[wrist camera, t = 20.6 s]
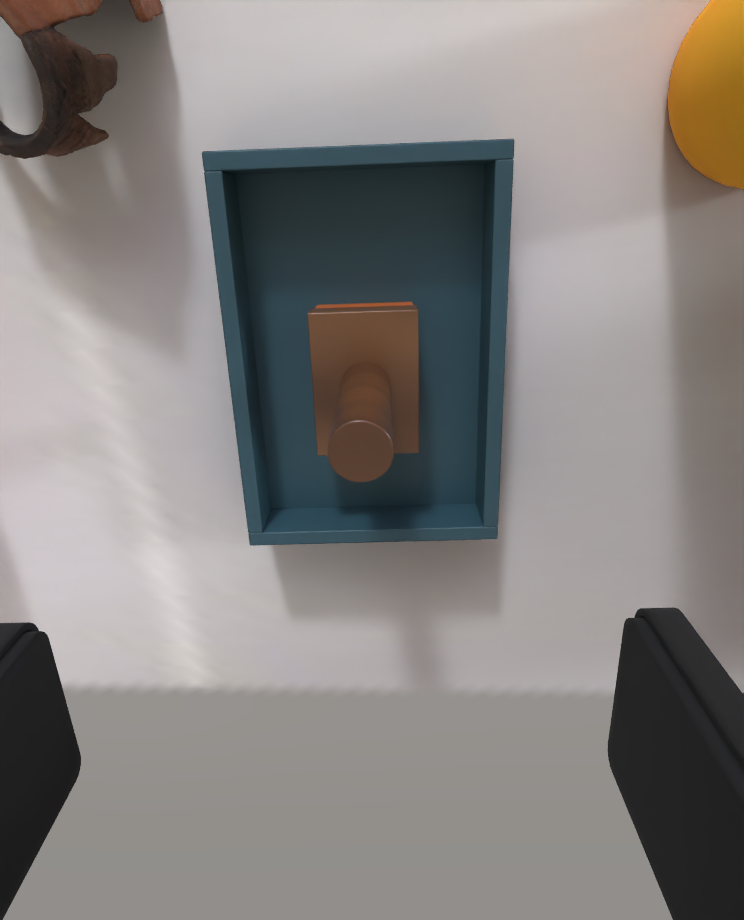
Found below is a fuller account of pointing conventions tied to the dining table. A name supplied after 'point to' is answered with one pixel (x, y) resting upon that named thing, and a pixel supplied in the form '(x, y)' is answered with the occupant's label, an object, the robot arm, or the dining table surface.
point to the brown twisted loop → (62, 74)
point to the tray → (365, 281)
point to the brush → (365, 385)
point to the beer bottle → (711, 93)
